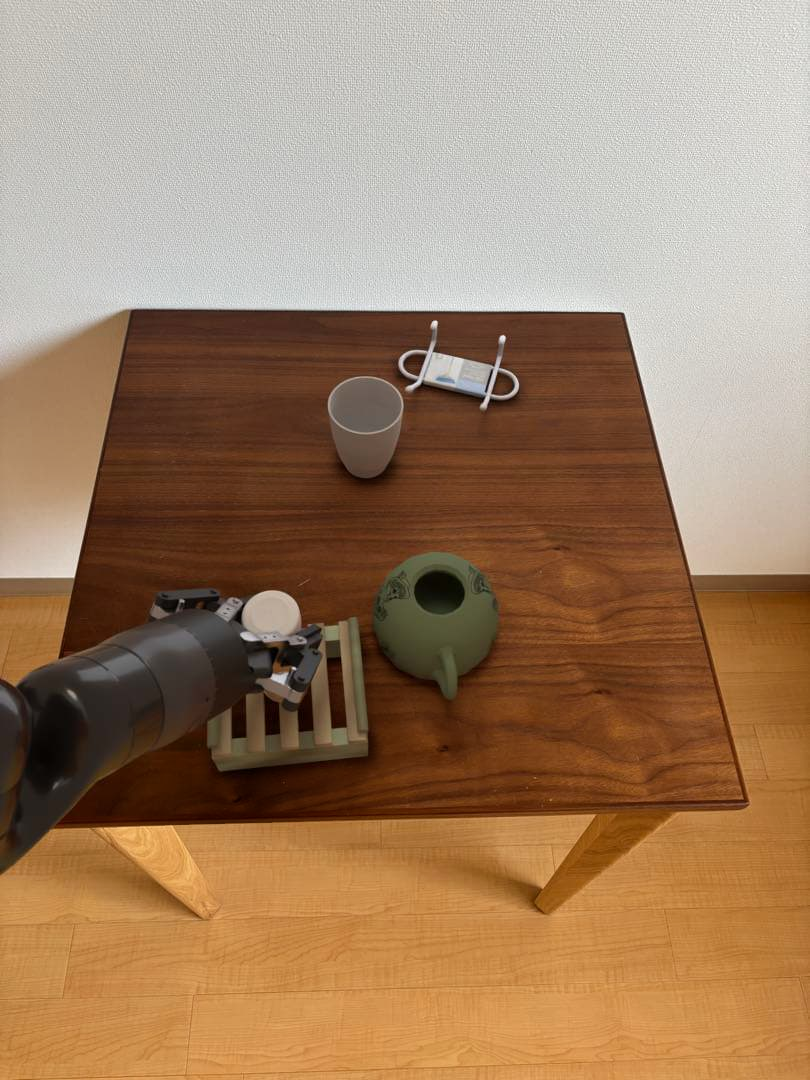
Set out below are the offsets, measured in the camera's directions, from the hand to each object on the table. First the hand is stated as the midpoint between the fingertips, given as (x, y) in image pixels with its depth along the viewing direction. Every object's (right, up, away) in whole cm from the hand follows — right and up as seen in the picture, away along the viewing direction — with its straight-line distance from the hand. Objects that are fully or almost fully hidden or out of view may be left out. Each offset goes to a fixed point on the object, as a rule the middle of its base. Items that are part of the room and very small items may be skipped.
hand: (288, 620), depth 68 cm
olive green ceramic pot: (+13, -4, +16) cm, 21 cm away
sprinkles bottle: (-1, -6, +7) cm, 10 cm away
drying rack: (-1, -9, +12) cm, 15 cm away
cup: (+5, +16, +28) cm, 33 cm away
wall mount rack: (+16, +25, +35) cm, 46 cm away
